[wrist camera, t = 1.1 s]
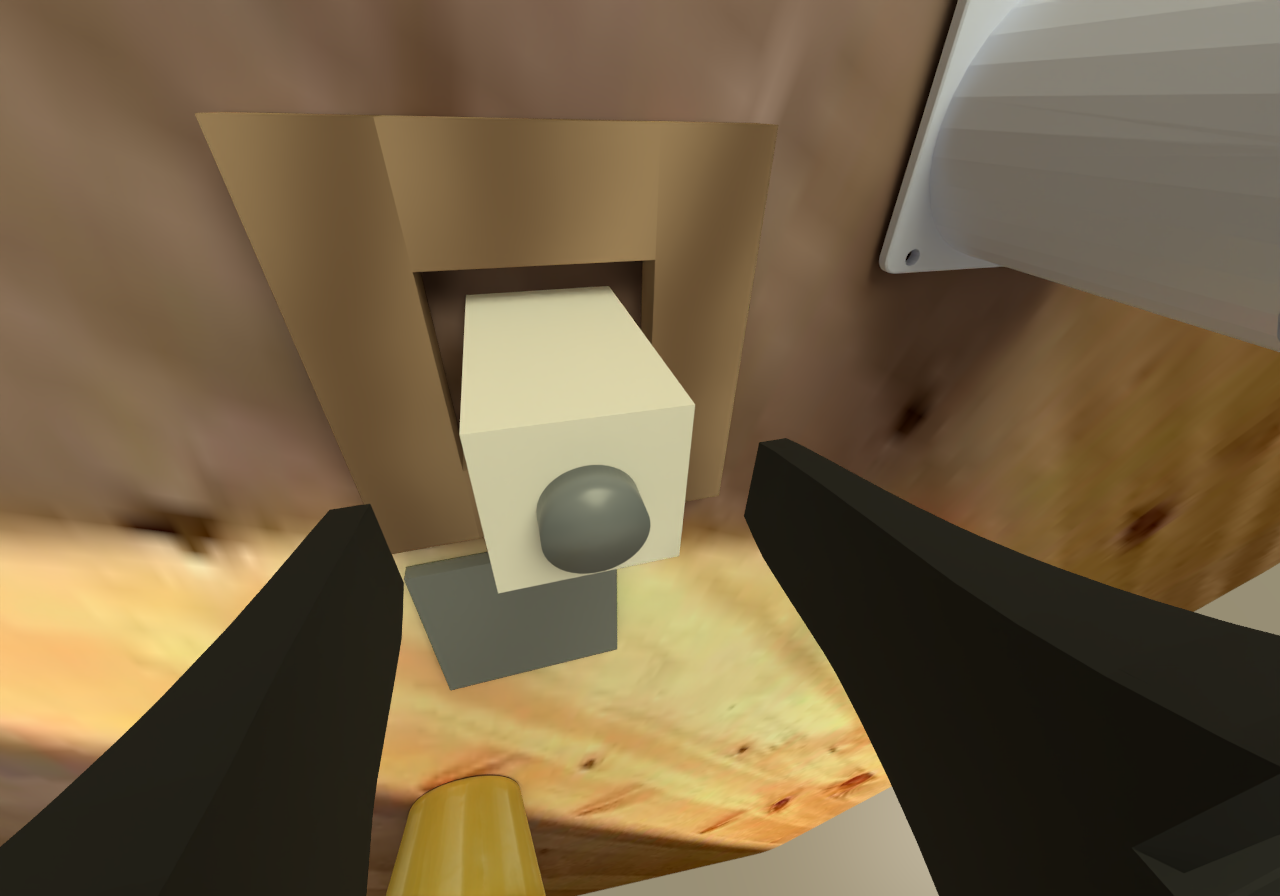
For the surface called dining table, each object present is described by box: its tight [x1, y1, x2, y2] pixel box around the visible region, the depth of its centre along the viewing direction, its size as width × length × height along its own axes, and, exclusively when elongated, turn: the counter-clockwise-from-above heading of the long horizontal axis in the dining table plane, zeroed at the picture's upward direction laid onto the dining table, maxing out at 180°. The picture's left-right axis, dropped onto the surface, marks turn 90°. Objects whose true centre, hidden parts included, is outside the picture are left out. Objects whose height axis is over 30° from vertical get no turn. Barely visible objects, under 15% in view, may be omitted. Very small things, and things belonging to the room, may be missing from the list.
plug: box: [459, 286, 695, 593], centre depth 12 cm, size 4×4×8 cm
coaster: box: [404, 552, 617, 690], centre depth 21 cm, size 8×8×1 cm
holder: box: [195, 112, 778, 554], centre depth 14 cm, size 12×12×1 cm
